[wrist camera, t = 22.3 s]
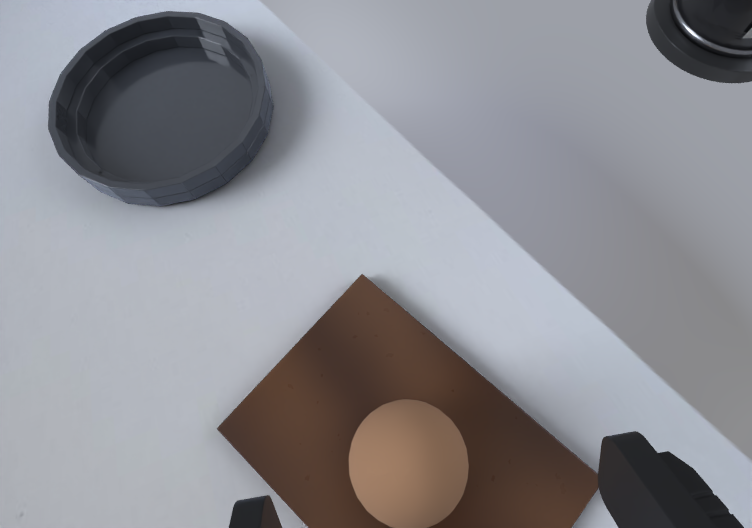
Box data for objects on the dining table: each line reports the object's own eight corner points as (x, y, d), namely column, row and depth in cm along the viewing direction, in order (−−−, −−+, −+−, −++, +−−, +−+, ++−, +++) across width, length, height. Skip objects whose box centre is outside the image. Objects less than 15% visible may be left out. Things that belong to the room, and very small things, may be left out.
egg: (452, 522, 27) (478, 563, 19) (346, 504, 27) (328, 537, 19) (461, 409, 29) (487, 405, 21) (362, 394, 29) (352, 385, 22)
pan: (185, 10, 43) (171, -19, 40) (315, 107, 38) (309, 83, 36) (34, 126, 39) (5, 103, 36) (159, 249, 35) (138, 234, 32)
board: (363, 278, 33) (362, 273, 32) (596, 477, 28) (604, 479, 27) (222, 428, 30) (216, 428, 29) (458, 680, 25) (461, 692, 24)
